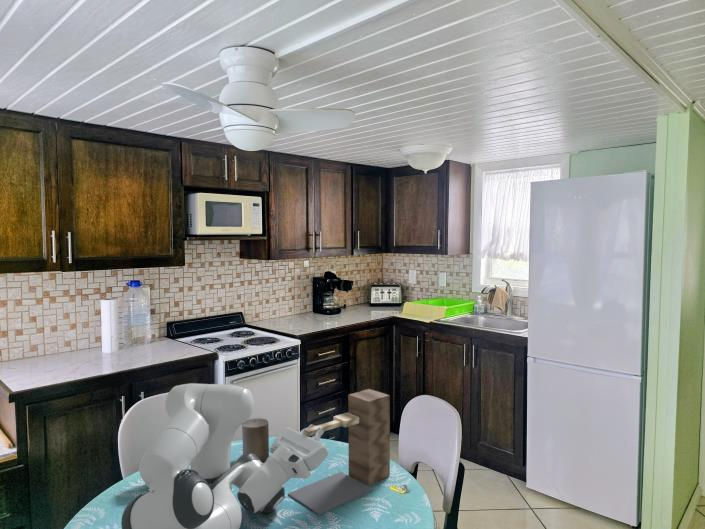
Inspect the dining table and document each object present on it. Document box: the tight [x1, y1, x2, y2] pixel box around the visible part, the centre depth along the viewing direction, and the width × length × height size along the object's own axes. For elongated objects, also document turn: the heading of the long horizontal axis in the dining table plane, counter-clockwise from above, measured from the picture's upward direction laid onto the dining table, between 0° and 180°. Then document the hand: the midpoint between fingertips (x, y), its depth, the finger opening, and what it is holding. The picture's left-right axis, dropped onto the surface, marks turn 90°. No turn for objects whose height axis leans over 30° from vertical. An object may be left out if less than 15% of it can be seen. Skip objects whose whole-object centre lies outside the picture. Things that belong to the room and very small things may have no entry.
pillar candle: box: [241, 417, 270, 464], centre depth 178 cm, size 10×10×15 cm
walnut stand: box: [347, 388, 391, 487], centre depth 164 cm, size 10×10×28 cm
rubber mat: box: [287, 471, 374, 516], centre depth 153 cm, size 22×16×1 cm
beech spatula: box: [304, 412, 359, 437], centre depth 153 cm, size 19×6×2 cm, turn 132°
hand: (317, 427), depth 149 cm, fingers closed on beech spatula, 2 cm apart
